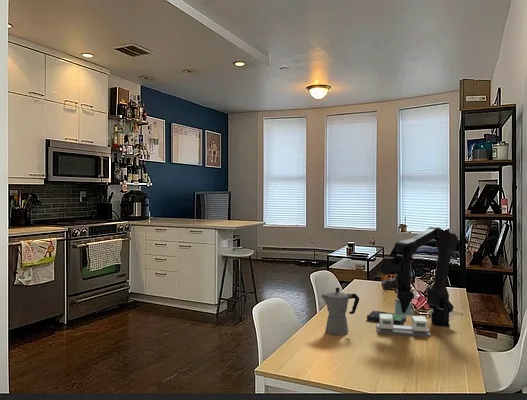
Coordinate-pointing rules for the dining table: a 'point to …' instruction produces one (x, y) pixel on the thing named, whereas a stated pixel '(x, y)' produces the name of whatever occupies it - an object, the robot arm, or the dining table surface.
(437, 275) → the robot arm
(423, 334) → the din board
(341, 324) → the coffeepot
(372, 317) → the disk drive
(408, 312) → the block
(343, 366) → the dining table surface
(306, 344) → the dining table surface
